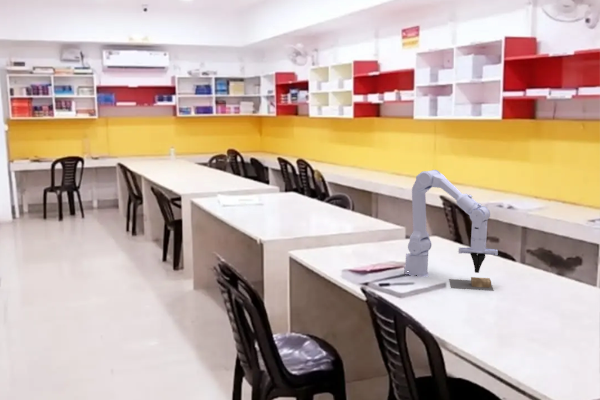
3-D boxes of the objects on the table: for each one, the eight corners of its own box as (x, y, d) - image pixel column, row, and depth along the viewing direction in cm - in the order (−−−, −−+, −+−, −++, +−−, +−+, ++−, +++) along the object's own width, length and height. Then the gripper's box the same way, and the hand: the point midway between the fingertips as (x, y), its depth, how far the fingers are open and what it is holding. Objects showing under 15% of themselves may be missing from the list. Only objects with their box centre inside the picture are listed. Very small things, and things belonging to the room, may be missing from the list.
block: (472, 280, 235) (491, 281, 234) (471, 277, 240) (489, 278, 239) (472, 286, 236) (490, 287, 235) (470, 283, 241) (489, 284, 239)
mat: (450, 289, 233) (450, 288, 233) (448, 279, 246) (448, 278, 246) (494, 291, 231) (494, 290, 231) (489, 282, 243) (489, 281, 243)
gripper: (460, 239, 233) (458, 273, 235) (499, 241, 230) (497, 275, 232) (458, 235, 239) (457, 269, 241) (497, 237, 237) (495, 271, 239)
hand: (476, 272), depth 237 cm, fingers closed
